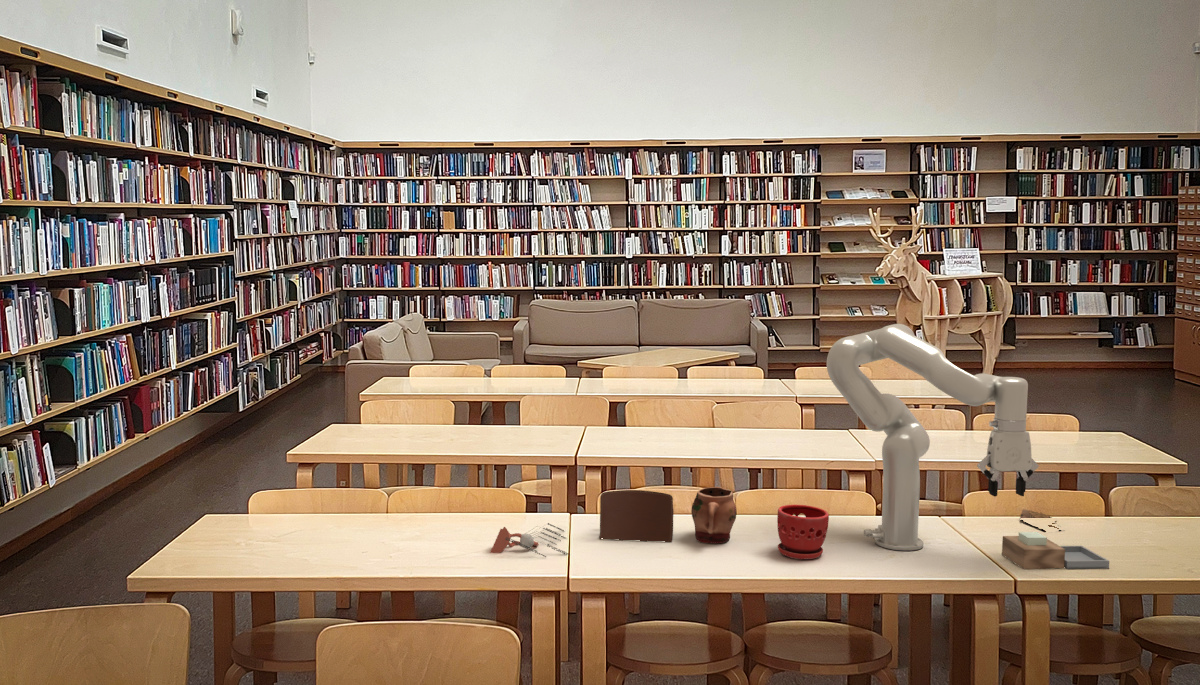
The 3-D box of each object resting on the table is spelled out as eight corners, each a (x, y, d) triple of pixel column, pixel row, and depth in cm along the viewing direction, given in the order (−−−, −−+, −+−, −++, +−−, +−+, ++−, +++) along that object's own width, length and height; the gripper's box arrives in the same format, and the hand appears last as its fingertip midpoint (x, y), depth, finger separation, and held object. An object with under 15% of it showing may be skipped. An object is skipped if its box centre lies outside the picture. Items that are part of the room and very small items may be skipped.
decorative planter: (737, 553, 269) (738, 501, 268) (690, 551, 270) (691, 499, 269) (734, 531, 289) (735, 483, 288) (690, 530, 290) (691, 481, 289)
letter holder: (672, 543, 278) (673, 492, 277) (599, 540, 280) (599, 489, 279) (673, 532, 288) (674, 483, 286) (603, 530, 290) (603, 481, 288)
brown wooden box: (1023, 569, 258) (1024, 549, 258) (1001, 554, 270) (1002, 536, 270) (1064, 568, 259) (1065, 549, 258) (1040, 554, 271) (1041, 535, 270)
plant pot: (787, 564, 260) (788, 517, 259) (769, 548, 273) (770, 504, 272) (835, 561, 263) (837, 515, 262) (815, 546, 276) (816, 502, 275)
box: (1066, 569, 258) (1067, 561, 258) (1041, 553, 271) (1041, 546, 271) (1108, 568, 259) (1109, 560, 259) (1081, 553, 272) (1081, 545, 272)
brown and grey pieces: (500, 529, 263) (514, 501, 287) (486, 559, 264) (502, 528, 289) (573, 562, 263) (581, 530, 287) (559, 592, 264) (569, 558, 289)
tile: (1027, 545, 261) (1028, 537, 261) (1018, 539, 266) (1018, 532, 266) (1046, 545, 262) (1047, 537, 261) (1036, 539, 267) (1037, 532, 266)
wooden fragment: (1067, 535, 290) (1068, 531, 290) (1026, 532, 292) (1026, 529, 292) (1047, 512, 315) (1047, 508, 315) (1009, 510, 317) (1009, 506, 317)
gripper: (983, 428, 256) (980, 499, 258) (1050, 428, 257) (1046, 498, 259) (970, 423, 263) (967, 491, 265) (1035, 423, 265) (1032, 491, 267)
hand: (1006, 494), depth 262 cm, fingers open, 6 cm apart
